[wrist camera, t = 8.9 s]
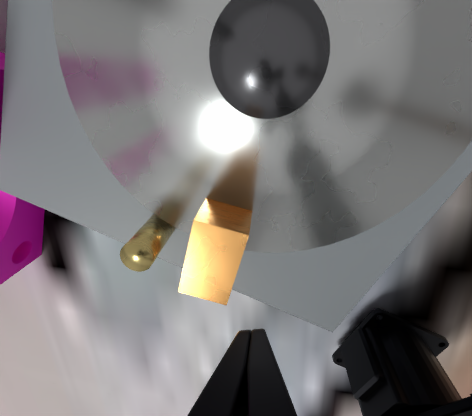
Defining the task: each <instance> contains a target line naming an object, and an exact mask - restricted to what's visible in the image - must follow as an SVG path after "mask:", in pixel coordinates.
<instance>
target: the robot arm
mask: <svg viewBox="0 0 472 416" xmlns="http://www.w3.org/2000/svg"><path fill="white" fill-rule="evenodd" d="M378 315H380V316H378ZM448 346H449V343H448V341H447V340H446V338H445V337H443V336H441V335H439V334H437V333H434V332H432V331H430V330H427V329H425V328H423V327H421V326H418V325H416V324H414V323H412V322H409V321H407V320H405V319H403V318H400V317H398V316H396V315H393V314H391V313H389V312H387V311H384V310H382V309H375V310H373V311H372V312H371V313H370V314H369V315H368V316H367V317H366V318H365V320H364V321H363V322H362V323H361V324H360V325H359V326H358V327H357V328H356V329H355V331H354V332H353V333H352V334H351V335H350V336H349V337H348V338H347V339H346V340H345V341H344V343H343V344H342V345H341V346H340V347H339V348H338V349H337V350H336V351H335V352H334V354H333V355H332V358H333V362H334V363H335V364H337V365H340V366H342V367H345V368H346V370H347V374H348V378H349V381H350V385H351V389H352V392H353V395H354V398H355V399H357V400H358V401H359V405H360V408H361V412H362V415H363V416H472V394H470V395H471V396H470V397H467V398H464V399H462V398H461V396H460V395H459V393H458V392H457V390H456V388H455V387H454V385H453V384H452V382H451V380H450V379H449V377H448V375H447V374H446V372H445V371H444V369H443V367H442V366H441V364H440V363H439V361H438V359H437V358H436V356H438V355H439V354H440V353H441V352H442V351H443V350H445V349H446V348H447V347H448ZM188 416H297V414H296V411H295V409H294V406H293V403H292V401H291V398H290V396H289V393H288V390H287V388H286V385H285V382H284V380H283V377H282V374H281V372H280V369H279V366H278V364H277V361H276V359H275V356H274V353H273V351H272V348H271V345H270V343H269V340H268V337H267V335H266V332H265V330H264V329H254V330H252V331H251V330H241V331H239V332H238V333H237V335H236V336H235V338H234V340H233V341H232V343H231V345H230V346H229V348H228V350H227V351H226V353H225V355H224V356H223V358H222V360H221V361H220V363H219V365H218V366H217V368H216V369H215V371H214V373H213V374H212V376H211V378H210V379H209V381H208V383H207V384H206V386H205V388H204V389H203V391H202V393H201V394H200V396H199V398H198V399H197V401H196V403H195V404H194V406H193V407H192V409H191V411H190V412H189V414H188Z"/></svg>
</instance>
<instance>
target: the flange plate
mask: <svg viewBox="0 0 472 416" xmlns="http://www.w3.org/2000/svg"><path fill="white" fill-rule="evenodd" d="M52 8H53V21H54V34H55V39H56V45H57V50H58V56H59V61H60V66H61V70H62V73H63V77H64V80H65V84H66V87H67V90H68V94H69V97H70V99H71V102H72V104H73V106H74V109H75V111H76V114H77V116H78V119H79V121H80V123H81V125H82V127H83V129H84V131H85V133H86V134H87V136H88V138H89V140H90V142H91V144H92V146H93V147H94V149H95V150H96V152H97V153H98V155H99V156H100V158H101V159H102V161H103V162H104V164H105V165H106V167H107V168H108V169H109V170H110V171H111V173H112V174H113V175H114V176H115V177H116V179H117V180H118V181H119V182H120V183H121V185H122V186H123V187H124V188H125V189H126V190H127V191H128V192H129V193H130V194H131V195H133V196H134V197H135V198H136V199H137V200H138V201H139V202H140V203H141V204H142V205H144V206H145V207H146V208H147V209H149V210H150V211H151V212H153V213H154V214H155V215H156V216H158V217H159V218H161V219H162V220H164V221H166V222H167V223H169V224H171V225H172V226H174V227H175V228H177V229H179V230H181V231H183V232H185V233H187V234H190V239H189V243H188V248H187V253H186V257H185V262H184V266H183V271H182V276H181V280H180V285H179V290H178V292H181V293H185V294H188V295H192V296H195V297H199V298H202V299H206V300H209V301H213V302H216V303H220V304H223V305H227V302H228V299H229V296H230V293H231V290H232V287H233V284H234V280H235V277H236V274H237V271H238V268H239V265H240V262H241V259H242V256H243V253H244V251H252V252H261V253H284V252H293V251H302V250H309V249H313V248H318V247H322V246H326V245H330V244H333V243H336V242H339V241H342V240H345V239H348V238H351V237H354V236H356V235H358V234H360V233H362V232H364V231H366V230H369V229H371V228H373V227H375V226H377V225H379V224H380V223H382V222H384V221H385V220H387V219H388V218H390V217H392V216H393V215H395V214H397V213H398V212H400V211H401V210H402V209H404V208H405V207H406V206H408V205H409V204H410V203H412V202H413V201H414V200H416V199H417V198H418V197H420V196H421V195H422V194H423V193H424V192H425V191H426V190H428V189H429V188H430V187H431V186H432V185H433V184H434V183H435V182H436V181H437V180H438V179H439V178H440V177H441V176H443V175H444V173H445V172H446V171H447V170H448V169H449V168H450V166H451V165H452V164H453V163H454V162H455V161H456V160H457V158H458V157H459V156H460V155H461V154H462V153H463V151H464V150H465V149H466V147H467V146H468V144H469V143H470V142H471V140H472V0H52Z"/></svg>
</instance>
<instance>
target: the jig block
mask: <svg viewBox="0 0 472 416" xmlns="http://www.w3.org/2000/svg"><path fill="white" fill-rule="evenodd" d="M471 171H472V140H471V142H470V143H469V144H468V146H467V147H466V149H465V150H464V151H463V153H462V154H461V155H460V156H459V157H458V158H457V160H456V161H455V162H454V163H453V164H452V165H451V166H450V168H449V169H448V170H447V171H446V172H445V173H444V175H443V176H441V177H440V178H439V179H438V180H437V181H436V182H435V183H434V184H433V185H432V186H431V187H430V188H429V189H428V190H426V191H425V192H424V193H423V194H422V195H421V196H420V197H418V198H417V199H416V200H414V201H413V202H412V203H410V204H409V205H408V206H406V207H405V208H404V209H402V210H401V211H400V212H398V213H397V214H395V215H393V216H392V217H390V218H388V219H387V220H385V221H384V222H382V223H380V224H379V225H377V226H375V227H373V228H371V229H369V230H366V231H364V232H362V233H360V234H358V235H356V236H354V237H351V238H348V239H345V240H342V241H339V242H336V243H333V244H330V245H326V246H322V247H318V248H313V249H309V250H302V251H293V252H284V253H261V252H252V251H244V253H243V256H242V259H241V262H240V265H239V268H238V271H237V274H236V277H235V280H234V284H233V287H232V290H235V291H237V292H239V293H242V294H244V295H246V296H249V297H251V298H253V299H256V300H258V301H260V302H263V303H265V304H268V305H270V306H272V307H275V308H277V309H279V310H282V311H284V312H286V313H289V314H291V315H293V316H296V317H298V318H300V319H303V320H305V321H307V322H310V323H312V324H314V325H317V326H319V327H321V328H324V329H326V330H328V331H331V332H333V331H334V330H335V329H336V328H337V327H338V325H339V324H340V323H341V322H342V321H343V320H344V318H345V317H346V316H347V315H348V314H349V313H350V311H351V310H352V309H353V308H354V307H355V306H356V305H357V303H358V302H359V301H360V300H361V299H362V298H363V296H364V295H365V294H366V293H367V292H368V291H369V289H370V288H371V287H372V286H373V285H374V284H375V282H376V281H377V280H378V279H379V278H380V277H381V276H382V274H383V273H384V272H385V271H386V270H387V269H388V267H389V266H390V265H391V264H392V263H393V262H394V260H395V259H396V258H397V257H398V256H399V255H400V254H401V252H402V251H403V250H404V249H405V248H406V247H407V245H408V244H409V243H410V242H411V241H412V240H413V238H414V237H415V236H416V235H417V234H418V233H419V231H420V230H421V229H422V228H423V227H424V226H425V225H426V223H427V222H428V221H429V220H430V219H431V218H432V216H433V215H434V214H435V213H436V212H437V211H438V209H439V208H440V207H441V206H442V205H443V204H444V203H445V201H446V200H447V199H448V198H449V197H450V196H451V194H452V193H453V192H454V191H455V190H456V189H457V187H458V186H459V185H460V184H461V183H462V182H463V180H464V179H465V178H466V177H467V176H468V175H469V174H470V172H471ZM0 190H1V191H3V192H6V193H8V194H10V195H13V196H15V197H17V198H20V199H22V200H24V201H27V202H29V203H31V204H34V205H36V206H38V207H41V208H43V209H45V210H48V211H50V212H52V213H55V214H57V215H59V216H62V217H64V218H66V219H69V220H71V221H73V222H76V223H78V224H80V225H83V226H85V227H87V228H90V229H92V230H94V231H97V232H99V233H101V234H104V235H106V236H109V237H111V238H113V239H116V240H118V241H120V242H123V243H125V244H126V243H127V242H128V241H129V240H130V239H131V238H132V237H133V236H134V235H135V233H136V232H137V231H138V230H139V229H140V228H141V227H142V226H143V225H144V224H145V223H146V222H147V220H148V219H149V218H150V217H151V216H152V215H153V214H154V213H153V212H151V211H150V210H149V209H147V208H146V207H145V206H144V205H142V204H141V203H140V202H139V201H138V200H137V199H136V198H135V197H134V196H133V195H131V194H130V193H129V192H128V191H127V190H126V189H125V188H124V187H123V186H122V185H121V183H120V182H119V181H118V180H117V179H116V177H115V176H114V175H113V174H112V173H111V171H110V170H109V169H108V168H107V167H106V165H105V164H104V162H103V161H102V159H101V158H100V156H99V155H98V153H97V152H96V150H95V149H94V147H93V146H92V144H91V142H90V140H89V138H88V136H87V134H86V133H85V131H84V129H83V127H82V125H81V123H80V121H79V119H78V116H77V114H76V111H75V109H74V106H73V104H72V102H71V99H70V97H69V94H68V90H67V87H66V84H65V80H64V77H63V73H62V70H61V66H60V61H59V56H58V50H57V45H56V39H55V34H54V21H53V8H52V0H8V8H7V28H6V47H5V66H4V86H3V105H2V124H1V144H0ZM189 239H190V234H187V233H185V232H183V231H181V230H179V229H177V228H175V230H174V232H173V234H172V235H171V237H170V238H169V240H168V241H167V243H166V244H165V246H164V247H163V249H162V250H161V252H160V253H159V255H158V256H157V257H158V258H160V259H162V260H165V261H167V262H169V263H172V264H174V265H176V266H179V267H181V268H183V266H184V262H185V257H186V253H187V248H188V243H189Z"/></svg>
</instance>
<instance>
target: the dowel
mask: <svg viewBox="0 0 472 416" xmlns="http://www.w3.org/2000/svg"><path fill="white" fill-rule="evenodd" d="M174 230H175V227H174V226H172V225H171V224H169V223H167V222H166V221H164V220H162V219H161V218H159V217H158V216H156V215H155V214H153V215H152V216H151V217H150V218H149V219H148V220H147V222H146V223H145V224H144V225H143V226H142V227H141V228H140V229H139V230H138V231H137V232H136V233H135V235H134V236H133V237H132V238H131V239H130V240H129V241H128V242H127V243H126V244H125V245H124V246H123V248H122V249H121V251H120V257H121V260H122V262H123V263H124V265H125V266H126V267H128V268H129V269H131V270H134V271H145V270H147V269H149V268H150V266H151V265H152V264H153V262H154V261H155V259H156V258H157V256H158V255H159V253H160V252H161V250H162V249H163V247H164V246H165V244H166V243H167V241H168V240H169V238H170V237H171V235H172V234H173V232H174Z"/></svg>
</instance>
